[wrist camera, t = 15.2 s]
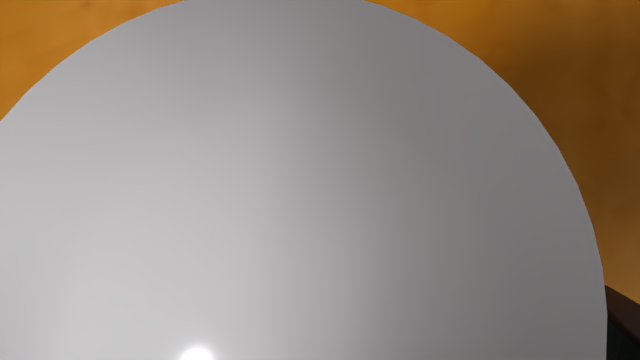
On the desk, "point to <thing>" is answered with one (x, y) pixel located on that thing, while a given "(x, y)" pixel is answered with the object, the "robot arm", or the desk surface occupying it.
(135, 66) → the jar
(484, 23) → the desk surface
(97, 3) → the desk surface
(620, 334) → the robot arm
